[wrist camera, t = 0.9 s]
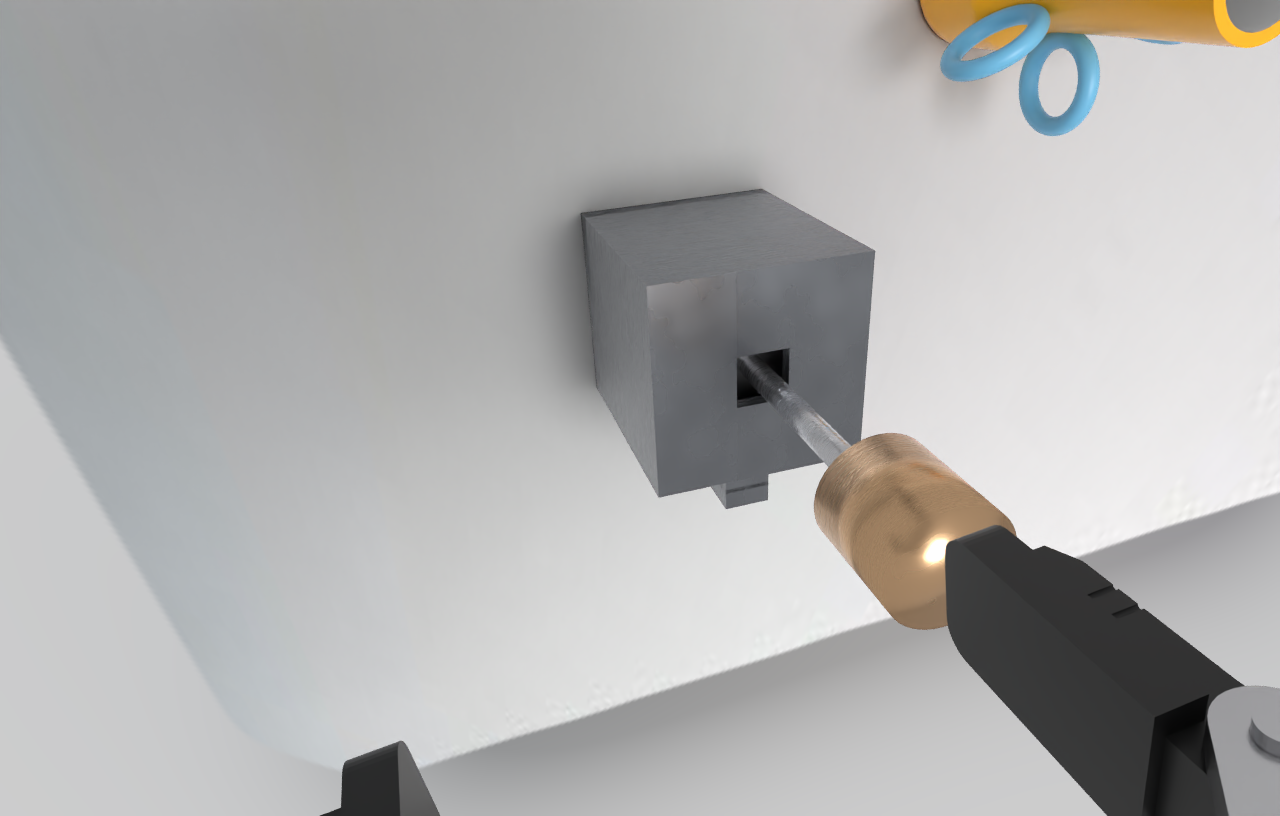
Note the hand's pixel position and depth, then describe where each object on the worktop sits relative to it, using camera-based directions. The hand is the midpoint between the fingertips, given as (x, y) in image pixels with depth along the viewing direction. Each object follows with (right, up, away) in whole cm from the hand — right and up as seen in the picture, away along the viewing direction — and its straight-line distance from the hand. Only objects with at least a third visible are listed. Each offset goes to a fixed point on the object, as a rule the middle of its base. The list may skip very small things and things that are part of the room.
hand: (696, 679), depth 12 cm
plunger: (+3, +6, +24) cm, 25 cm away
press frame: (+1, +9, +31) cm, 32 cm away
